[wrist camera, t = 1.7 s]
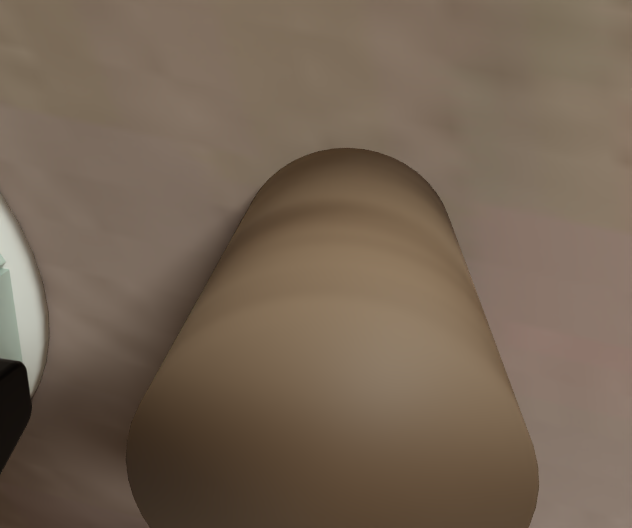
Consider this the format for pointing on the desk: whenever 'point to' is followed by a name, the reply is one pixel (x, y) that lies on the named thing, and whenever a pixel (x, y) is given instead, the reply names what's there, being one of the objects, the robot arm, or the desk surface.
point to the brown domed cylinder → (335, 371)
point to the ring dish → (21, 301)
